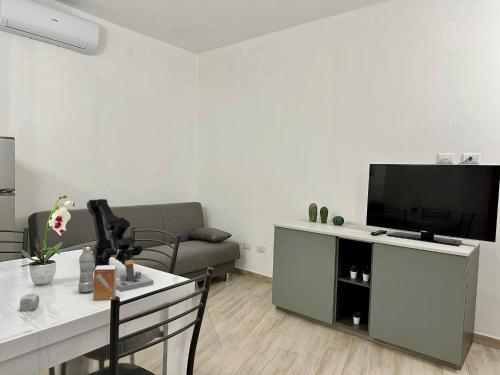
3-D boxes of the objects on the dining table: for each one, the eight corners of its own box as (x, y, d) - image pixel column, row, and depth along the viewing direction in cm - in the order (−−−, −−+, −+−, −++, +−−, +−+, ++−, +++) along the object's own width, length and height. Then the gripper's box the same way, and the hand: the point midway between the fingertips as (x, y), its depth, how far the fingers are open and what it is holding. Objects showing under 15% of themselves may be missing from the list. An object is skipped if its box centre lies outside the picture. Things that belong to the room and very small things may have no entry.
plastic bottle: (90, 288, 157) (92, 244, 156) (96, 292, 152) (97, 247, 151) (75, 291, 152) (76, 246, 151) (81, 295, 147) (82, 248, 146)
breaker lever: (126, 281, 163) (124, 260, 165) (133, 280, 166) (131, 259, 168) (128, 281, 162) (126, 260, 163) (135, 280, 164) (133, 259, 166)
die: (19, 311, 128) (19, 298, 128) (24, 306, 133) (25, 293, 133) (34, 310, 130) (34, 297, 129) (39, 305, 134) (39, 293, 134)
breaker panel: (107, 283, 163) (107, 273, 163) (139, 277, 175) (139, 267, 174) (120, 291, 153) (121, 280, 153) (153, 284, 165) (153, 273, 165)
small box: (93, 300, 142) (93, 269, 141) (96, 295, 148) (97, 265, 148) (113, 299, 144) (114, 268, 143) (116, 294, 150) (117, 264, 150)
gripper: (105, 232, 162) (114, 260, 155) (142, 229, 175) (152, 255, 168) (98, 245, 168) (106, 273, 161) (134, 241, 181) (143, 267, 174)
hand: (128, 267), depth 166 cm, fingers closed, pressing on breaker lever
